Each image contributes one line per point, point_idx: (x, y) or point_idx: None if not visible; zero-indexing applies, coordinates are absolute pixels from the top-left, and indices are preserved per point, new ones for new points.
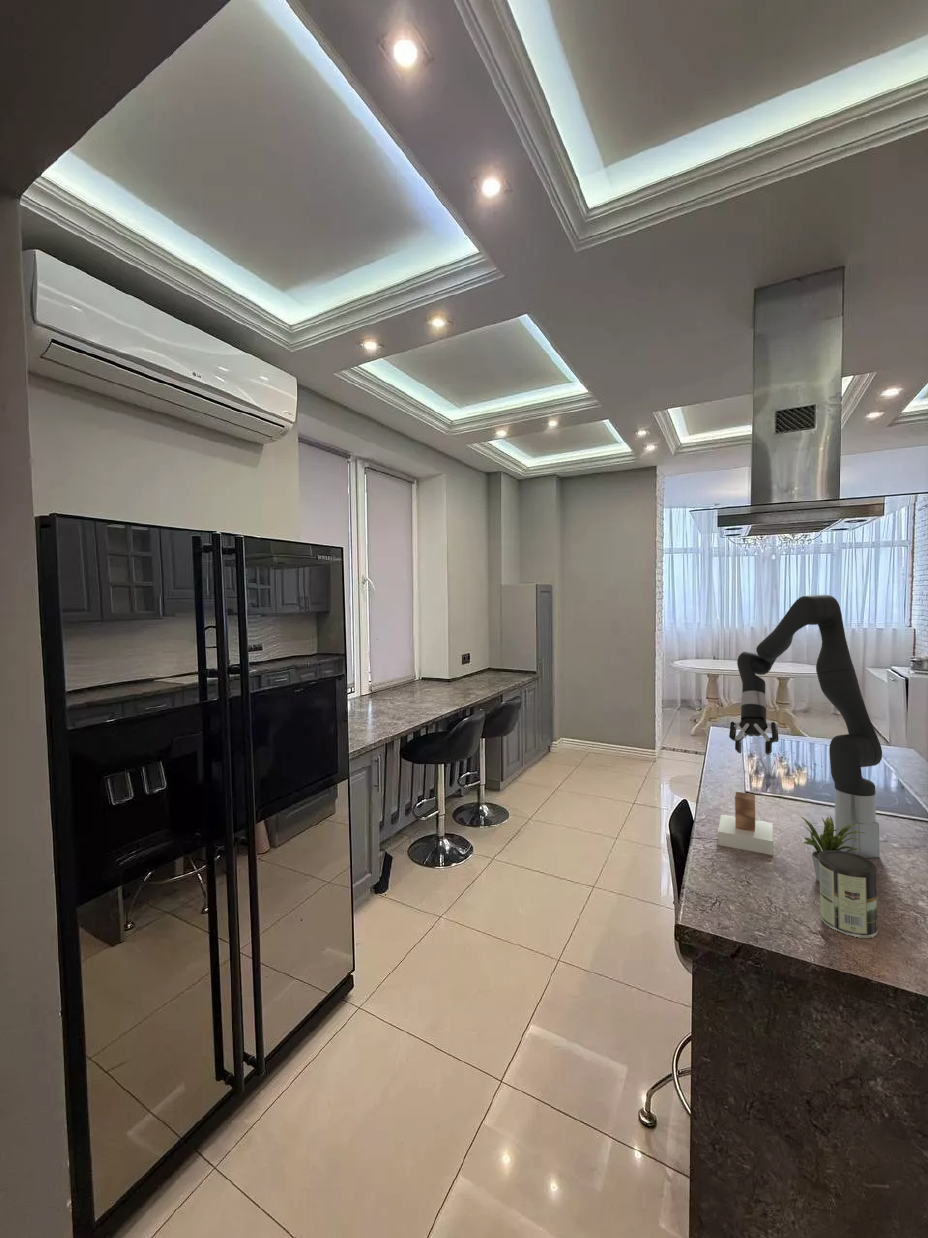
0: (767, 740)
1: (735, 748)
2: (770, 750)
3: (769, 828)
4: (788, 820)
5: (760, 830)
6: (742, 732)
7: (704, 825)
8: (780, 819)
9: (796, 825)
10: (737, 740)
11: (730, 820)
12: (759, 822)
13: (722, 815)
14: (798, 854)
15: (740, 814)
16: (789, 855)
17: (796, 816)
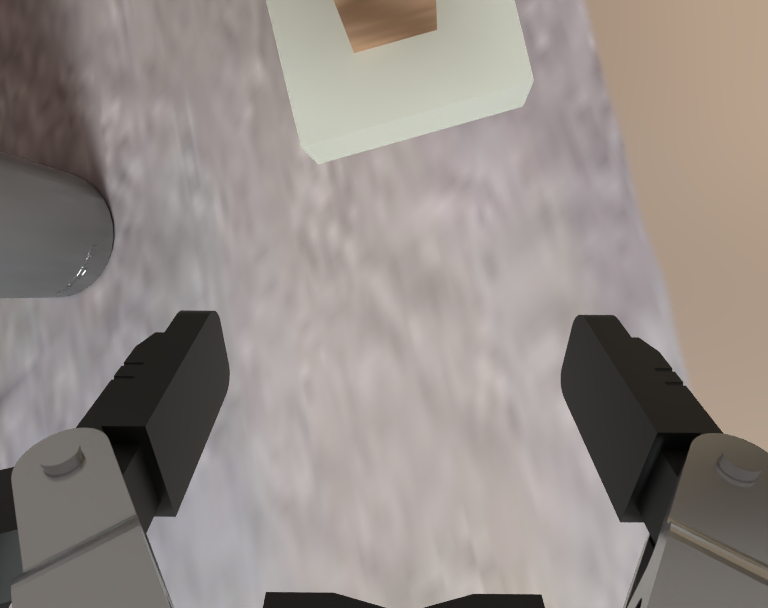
0: (85, 443)
1: (653, 353)
2: (140, 350)
3: (294, 64)
4: (306, 396)
5: (320, 8)
6: (687, 588)
7: (594, 69)
8: (336, 386)
9: (268, 357)
10: (698, 445)
11: (469, 31)
12: (349, 108)
13: (523, 69)
14: (202, 49)
15: None
16: (225, 14)
17: (290, 471)
